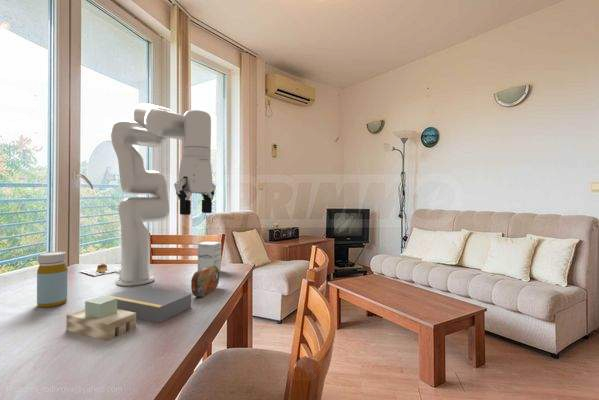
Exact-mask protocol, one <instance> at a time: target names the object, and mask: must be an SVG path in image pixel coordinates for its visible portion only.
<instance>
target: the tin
mask: <svg viewBox="0 0 599 400" xmlns="http://www.w3.org/2000/svg"><path fill="white" fill-rule="evenodd" d="M192 275H193V276H192V277H191V280H190V283H191V284H190V286H191V287H190V288H191V295H193V296H194V297H198V298H199V297H200V298H205V297H206V296H207V295H208V294H211V293H212V292H213V291H215V290H216V289H217V288H218V285H219V283H220V282H219V281H220V271H218V268H217V267H216V266H207V267H205V268H203V269H201V270H199V271H198V270H197V271H195V272H194V273H193V274H192Z"/></svg>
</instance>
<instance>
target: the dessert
mask: <svg viewBox="0 0 599 400" xmlns="http://www.w3.org/2000/svg"><path fill="white" fill-rule="evenodd" d="M107 266H108V265H107V264H106V262H104V261H101V264H97V267H96V268H95V267H94V268H91V269H90V268H89V269H84V270H79V272H80V273H83V274H87V275H90V276H92V275H93V276H92V277H98V276H102V274H104V275H108V274H107V273H109V274H112V273H111V272H114V273H116V271H119V270H114V271H109V268H107ZM113 267H114V268H116V269H120V268H121V267H116V266H113ZM95 269H97V270H95ZM88 270H94V271H95V273H96V272H104V273H97V274H92V273H89V271H88ZM107 270H108V272H105V271H107ZM84 271H88V272H84ZM97 275H98V276H97Z"/></svg>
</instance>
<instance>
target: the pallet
mask: <svg viewBox="0 0 599 400" xmlns="http://www.w3.org/2000/svg"><path fill="white" fill-rule="evenodd" d="M65 323H66V329H65V330H66V331H69V332H72V333H76V334H80V335H83V336H88V337H91V338H95V339H99V340H103V341H107V342H108V341H110V340H113V339H115V337H116V336H121V335H124V334H126V333H127V331H129V332H130V331H132V330H135V329H136V328H137V318H136V313H135V312H130V311H125V310H120V309H117V312H116V313H113V314H111V315H108V316H105V317H103V318H100V319H99V318H95V317H90V316H86V315H85V308H83V309H79V310H77V311H74V312H70V313H68V314H66V322H65Z"/></svg>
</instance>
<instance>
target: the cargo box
mask: <svg viewBox="0 0 599 400" xmlns="http://www.w3.org/2000/svg"><path fill="white" fill-rule="evenodd" d="M84 305H85V306H84V309H85V315H86V316H90V317H95V318H99V319H100V318H103V317H105V316H108V315H111V314H113V313H116V312H117V298H113V297H107V295H101V296H98V297H95V298H92V299H89V300H85V301H84Z"/></svg>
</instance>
